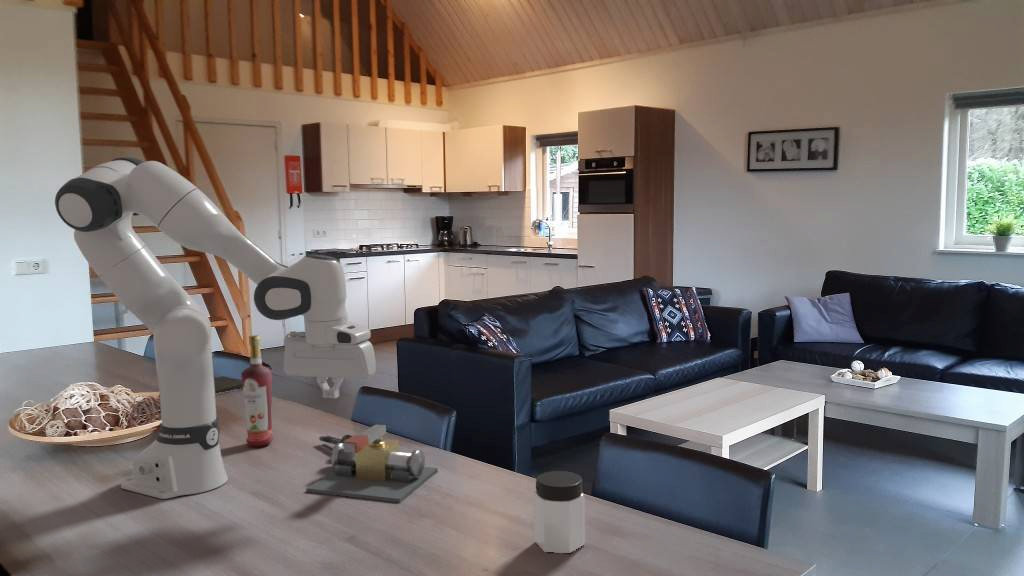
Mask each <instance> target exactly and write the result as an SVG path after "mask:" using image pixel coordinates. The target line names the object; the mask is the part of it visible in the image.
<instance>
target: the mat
mask: <svg viewBox="0 0 1024 576" xmlns="http://www.w3.org/2000/svg"><path fill="white" fill-rule="evenodd" d="M438 469H439V468H438V467H432V466H431V467H430V466H424V469H423V472H422V474H421V475H420V476H419V477H417V478H415V479H414V480H413V481H412V482H410V483H401V482H393V481H392V477H391V478H390V479H388V480H387V481H386V482H383V481H374V480H364V479H356V475H354V476H353V477H344V476H336V474H335V469H334V470H333V471H332V472H330V473H327V475H325V476H324V477H322V478H320V479H319V480H317V481H315V482H314V483H312V484H311V485H309V486H308V487H306V488H305V489H306V493H311V492H312V494H320V493H322V494H321V495H329V494H333V495H332V496H337V495H340V496H339V497H346V496H348V498H355V497H356V498H358V499H363V498H365V499H364V500H372V501H381V500H382V502H383V501H384V502H390V503H391V502H392V503H402V502H403V501H405V499H406V498H408V497H409V496H411V494H413V493H414V492H415V491H416V490H417V489H419V487H421V486H422V485H423V484H424V483H426V482H427V481H428V480H429V479H430V478H431V477H433V476H434V475H435V474H437V472H439V471H438ZM401 501H402V502H401Z"/></svg>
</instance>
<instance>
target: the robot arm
mask: <svg viewBox="0 0 1024 576" xmlns="http://www.w3.org/2000/svg"><path fill="white" fill-rule="evenodd" d="M54 205H55V210H56V212H57V215H58V216H59V218H60V220H62V222H63V223H64V224H65V225H67V227H70V228H71V229H73V230H74V231H73V239H74V242H75V243H76V245H77V248H78V249H79V251H80V252H81V254H82V256H83V257H84V258H85V260H86V261H87V263H88V265H89V267H91V268H92V270H93V271H94V273H95V274H96V275H97V276H98V277H99V279H100V280H101V282H103V284H104V285H106V287H107V289H109V290H110V291H111V293H112V294H113V295H114V296H115V298H117V299H118V301H119V302H120V303H121V304H122V305H123V307H124V308H126V309H127V310H128V311H129V312H130V313H131V314H133V315H134V316H135V318H137V319H138V321H140V322H141V323H142V324H143V325H144V326H145V327H146V328H147V329H148V330H149V331H150V332H151V333H152V334H153V336H152V337H153V338H152V339H153V348H154V349H153V351H154V360H155V366H156V375H157V383H158V387H159V390H158V391H159V401H160V402H159V403H160V414H161V416H160V417H161V423H159V424H158V425H155V426H152V427H151V429H153V430H152V431H151V433H156V432H157V433H156V437H155V440H154V441H153V442H151V443H150V445H148V446H147V447H146V448H145V449H144V450H142V451H141V452H140V453H138V455H136V456H135V458H134V460H133V463H132V475H130V476H128V477H127V478H125V479H124V480H122V482H121V484H120V488H121V489H124V490H127V491H130V492H134V493H138V494H142V495H146V496H149V497H154V498H158V499H160V500H161V499H162V500H165V499H166V500H167V499H171V498H176V497H179V496H185V495H186V496H187V495H194V494H200V493H204V492H208V491H211V490H214V489H216V488H217V489H218V488H220V487H221V486H222V485H224V484H225V483H227V482H228V481H229V475H228V473H227V472H226V471H227V470H226V467H225V465H224V461H223V456H222V452H221V446H220V441H219V439H220V421H219V417H218V416H217V407H216V406H217V405H216V396H215V387H214V378H215V377H214V365H213V353H212V352H213V351H212V325H211V320H210V318H209V317H208V315H207V314H206V312H205V311H204V310H203V309H202V308H201V307H200V305H199V304H197V302H196V301H195V300H194V299H193V298H192V297H191V295H189V293H188V292H187V291H186V290H185V289H184V288H183V287H182V286H181V285H180V284H179V282H178V281H177V280H175V278H174V277H173V276H172V274H170V273H169V272H168V270H167V269H166V268H165V267H164V266H163V264H162V263H161V262H160V260H159V259H158V258H157V257H156V255H155V254H154V253H153V252H152V251H151V249H150V248H149V247H148V246H147V245H146V243H144V241H143V240H142V239H141V238H140V236H139V235H138V234H137V233H136V232H135V230H134V228H133V225H132V217H135V216H139V215H140V216H142V217H143V218H145V219H146V220H148V222H150V224H152V225H153V226H154V227H155V228H156V229H158V230H159V231H160V232H161V233H162V234H163V235H165V236H166V237H167V238H169V239H171V240H172V241H174V242H176V243H177V244H179V245H180V246H182V247H184V248H186V249H187V250H191V251H196V252H201V253H204V254H205V253H207V254H210V255H213V256H216V257H219V258H221V259H223V260H225V261H226V262H228V263H229V264H231V266H233V267H234V268H235V269H237V270H238V271H239V272H240V273H242V274H243V275H244V276H246V277H247V278H248V279H249V280H250V281H252V282H253V283H254V284H255V285H256V287H255V289H254V292H253V302H254V306H255V308H256V310H257V311H258V312H259V313H260V315H262V316H263V317H264V318H267V319H269V320H274V321H285V320H288V319H291V318H294V317H298V316H303V323H304V331H293V330H292V331H290V332H289V333H287V334H286V335H285V337H284V339H283V342H284V343H283V344H284V354H283V371H284V372H285V374H286V375H287V376H294V377H295V376H296V377H316V383H317V384H318V386H319V387H320V390H321V391H322V397H323V398H326V399H337V398H339V397H340V387H341V386H342V384H343V383H344V379H357V380H358V379H361V380H362V379H364V380H366V379H369V378H371V377H373V376H374V375H375V373H376V370H377V361H376V354H375V349H374V346H373V344H372V343H371V342H370V341H369V339H370V338H371V337H372V336H371V335H372V333H371V330H370V329H369V328H367V327H365V326H361V325H359V324H355V323H354V322H351V321H350V320H349V316H348V315H349V314H348V312H347V309H346V299H347V288H346V287H347V286H346V285H347V284H346V277H345V272H344V271H345V270H344V268H343V265H342V262H340V261H339V260H338V259H337V258H336V257H334V256H329V255H325V254H312V253H311V254H305V255H304V256H303V257H302V258H301V259H299V260H298V261H297V262H295V263H293V264H292V265H290V266H287V265H284V264H282V263H280V262H277V261H276V260H275V259H273V258H272V257H271V256H269V255H268V254H267V253H265V251H263V250H262V249H261V248H260V247H259V246H257V245H256V244H254V243H253V242H252V241H251V240H249V239H248V238H247V236H245V235H244V234H242V233H241V232H240V230H238V229H237V227H236V226H235V225H234V224H233V223H232V222H231V221H230V220H229V218H227V216H226V215H225V214H224V213H223V212H222V211H221V210H220V208H219V207H218V206H217V205H216V204H215V203H214V202H213V201H212V200H211V199H210V198H209V197H208V196H207V195H206V194H205V193H204V192H203V191H202V190H200V189H199V187H197V186H195V184H194V183H192V182H191V181H189V180H188V179H187V178H186V177H184V176H182V175H181V174H180V173H179V172H177V171H175V170H173V169H172V168H171V167H169V166H167V165H166V164H163V163H162V162H159V161H156V160H148V161H143V160H141V159H138V158H136V157H129V156H128V157H127V156H126V157H124V156H123V157H118V158H114V159H111V160H110V161H107V162H104V163H100V164H98V165H95V166H93V167H91V168H89V169H88V170H87V171H85V172H84V173H81V174H80V175H78V176H76V177H75V178H71V179H69V180H68V181H67V182H65V183H64V184H63V185H62V186H61V187H60V188H59V189H58V191H57V192H56V193H55V197H54ZM329 378H331V381H332V383H333V386H332V387H330V386H329V384H328V381H327V380H329Z"/></svg>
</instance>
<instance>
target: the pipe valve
mask: <svg viewBox="0 0 1024 576" xmlns="http://www.w3.org/2000/svg"><path fill="white" fill-rule="evenodd" d="M399 442H400V441H399V440H398V439H397V440H395V439H386V438H385V439H384V438H382V441H380V442H371V443H369V446H367V447H366V448H364V449H363V450H361V451H359V452H358V453H351V452H344V446H343V443H337V444H336V445H335V444H334V446H333V448H332V450H331V453H330V454H331V456H330V463H331V466H332V467H333V468H334V470H335V474H336V476H344V477H353V476H354V475H356V479H364V480H374V481H383V482H386V481H387V480H388V479H390V478H391V477H392V481H393V482H401V483H410V482H412V481H413V480H414V479H415V478H417V477H419V476H420V475H421V474H422V472H423V469H424V467H425V463H426V458H425V454H424V451H423V450H422V449H420V450H419V449H414V450H412V452H401V451H400V443H399Z"/></svg>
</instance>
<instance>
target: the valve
mask: <svg viewBox="0 0 1024 576" xmlns="http://www.w3.org/2000/svg"><path fill="white" fill-rule="evenodd" d="M352 436H353V435H351V434H344V435H343V436H342V437H341V438H339V437H333V436H331V435H326V436H325V435H320V436H319V438H318V439H319V440H318V441H320V442H324V443H328V444H333V445H334V446H335V445H336V444H337V443H344V441H345V440H347V439H349V438H351V437H352Z"/></svg>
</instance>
